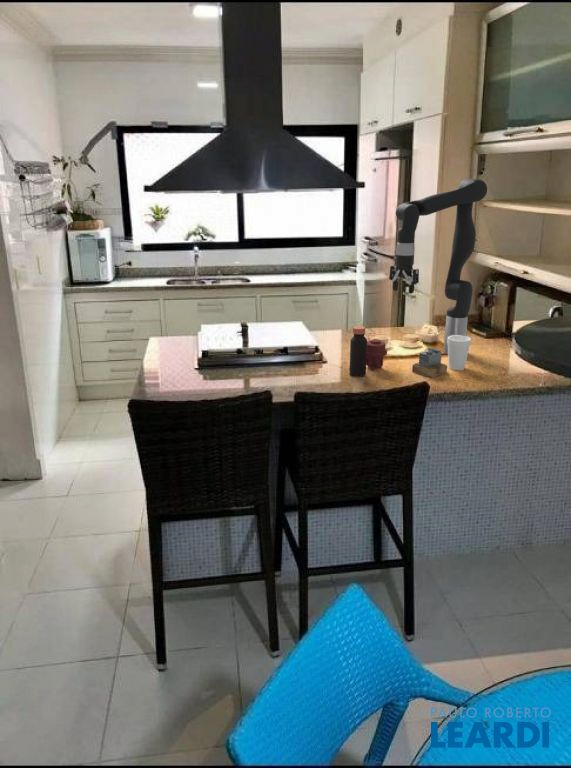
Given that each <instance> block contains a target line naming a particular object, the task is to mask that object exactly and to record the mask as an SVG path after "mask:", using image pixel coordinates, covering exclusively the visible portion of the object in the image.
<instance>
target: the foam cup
mask: <svg viewBox="0 0 571 768" xmlns="http://www.w3.org/2000/svg"><path fill="white" fill-rule="evenodd" d="M471 341H472V338H471V337H469V336H468V335H467V336H461V335H452V336H449V337H448V338H447V343H448V354H447V357H448V359H447V360H448V369H450V370H454V371H464V369H465V367H466V363H467V359H468V355H469V350H470V347H471V344H472V342H471Z"/></svg>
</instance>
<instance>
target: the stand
mask: <svg viewBox="0 0 571 768" xmlns="http://www.w3.org/2000/svg"><path fill="white" fill-rule="evenodd" d="M447 371H448V365H447V364H445V363H442V362H441V364H438V365H435V366H432V367H429V368H428V367H425V366H422V365H419V361H418V362H415V363H414V364H412V373H416V374H418V375H422V376H424V377H425V376H426V377H427V378H434V377H437V376H440V375H443V374H446V373H447Z"/></svg>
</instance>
